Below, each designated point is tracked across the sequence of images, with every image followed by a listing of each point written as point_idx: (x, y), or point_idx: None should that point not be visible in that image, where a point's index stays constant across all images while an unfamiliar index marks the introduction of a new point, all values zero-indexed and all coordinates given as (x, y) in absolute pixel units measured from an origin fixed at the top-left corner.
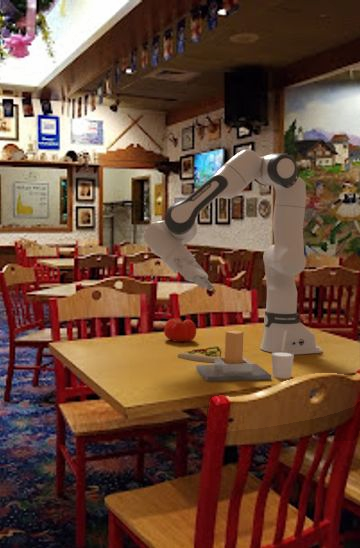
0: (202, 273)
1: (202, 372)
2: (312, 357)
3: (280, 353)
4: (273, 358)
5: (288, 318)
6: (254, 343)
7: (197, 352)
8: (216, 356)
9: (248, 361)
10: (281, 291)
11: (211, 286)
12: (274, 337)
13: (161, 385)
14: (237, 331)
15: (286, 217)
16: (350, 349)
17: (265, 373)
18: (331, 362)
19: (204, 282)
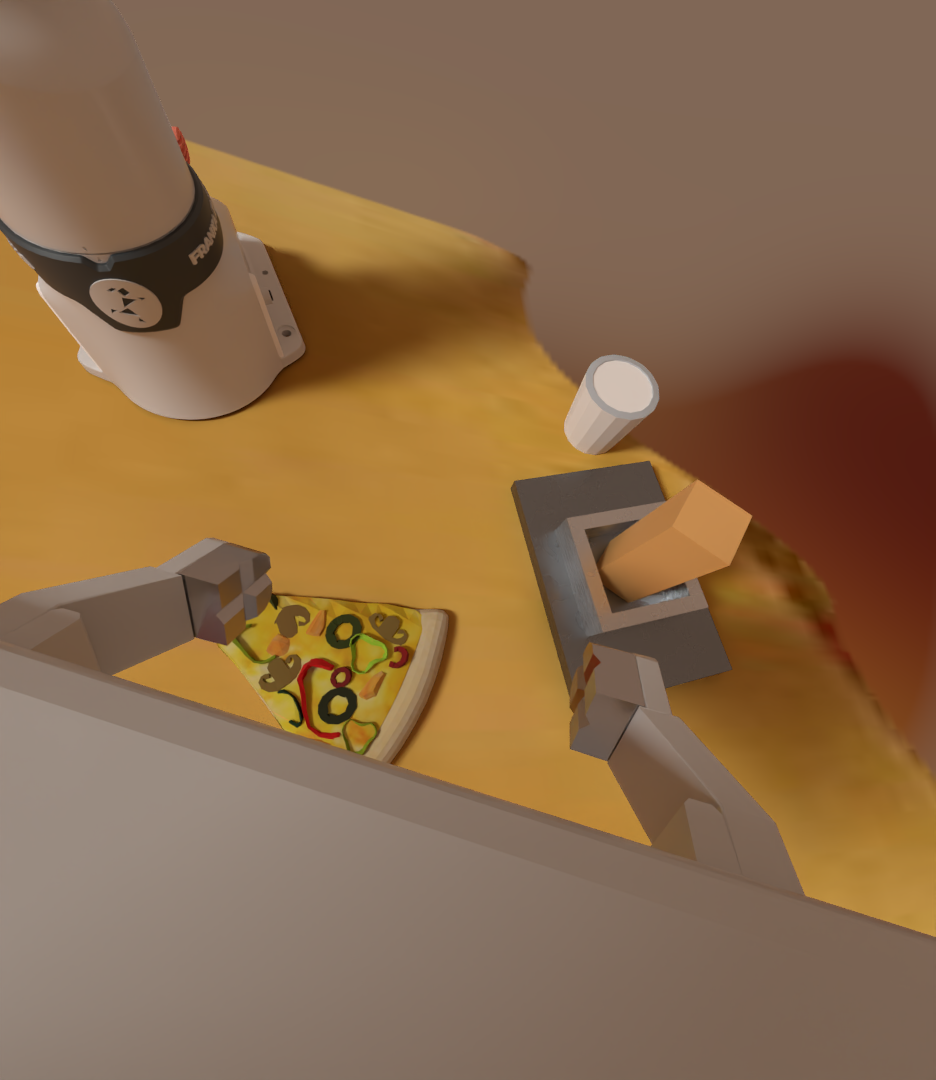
0: (90, 737)
1: (666, 687)
2: (331, 289)
3: (609, 390)
4: (635, 424)
5: (212, 208)
6: (56, 423)
7: (355, 706)
8: (397, 617)
9: (636, 509)
10: (88, 23)
11: (253, 567)
12: (234, 340)
13: (817, 848)
14: (693, 505)
15: None
16: (206, 158)
17: (636, 474)
18: (398, 261)
19: (96, 670)
